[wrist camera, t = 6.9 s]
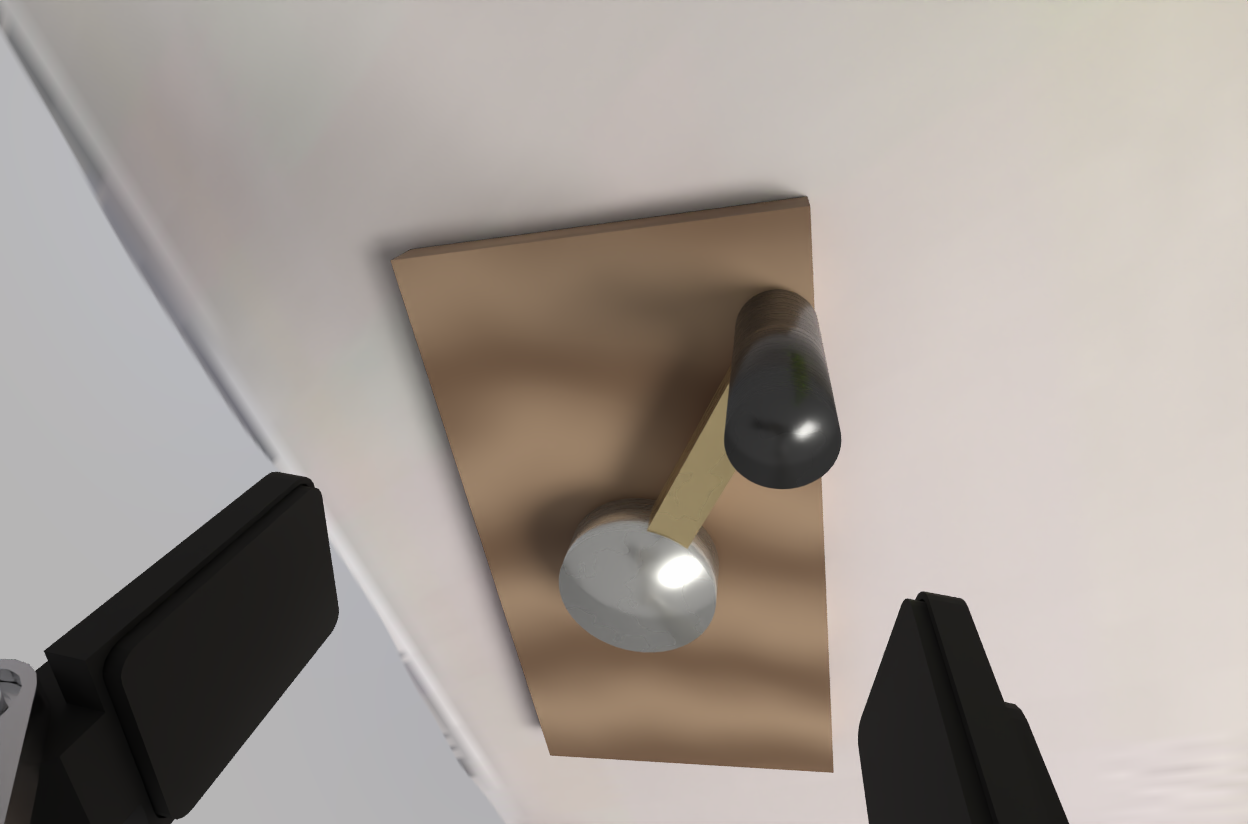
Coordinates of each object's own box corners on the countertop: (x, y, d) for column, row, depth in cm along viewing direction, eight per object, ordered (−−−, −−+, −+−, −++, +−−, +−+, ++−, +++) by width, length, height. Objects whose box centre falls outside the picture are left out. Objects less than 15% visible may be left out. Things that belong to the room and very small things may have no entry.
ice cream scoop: (681, 635, 29) (658, 798, 22) (552, 578, 28) (492, 727, 22) (882, 333, 21) (933, 453, 15) (708, 252, 21) (685, 339, 15)
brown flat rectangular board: (830, 743, 33) (833, 777, 31) (558, 729, 36) (549, 759, 34) (807, 196, 21) (810, 207, 20) (410, 249, 24) (386, 262, 23)
